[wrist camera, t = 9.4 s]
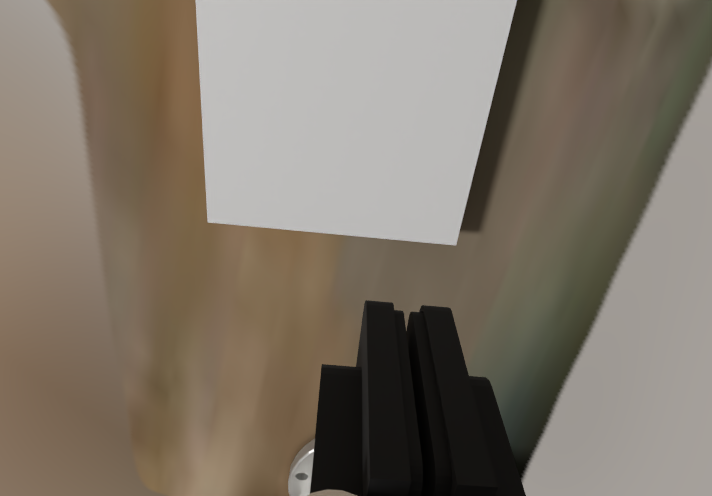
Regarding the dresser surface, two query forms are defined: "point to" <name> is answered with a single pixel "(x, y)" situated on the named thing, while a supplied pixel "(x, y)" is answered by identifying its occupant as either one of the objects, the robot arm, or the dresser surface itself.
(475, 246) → the dresser surface
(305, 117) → the grey plank
